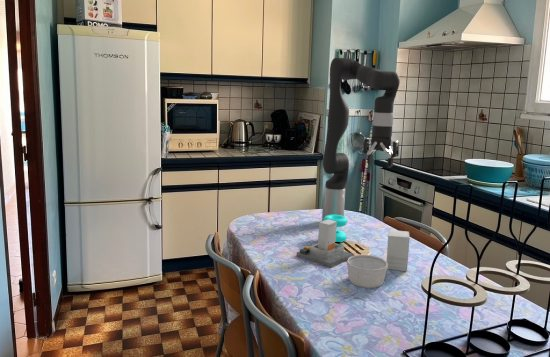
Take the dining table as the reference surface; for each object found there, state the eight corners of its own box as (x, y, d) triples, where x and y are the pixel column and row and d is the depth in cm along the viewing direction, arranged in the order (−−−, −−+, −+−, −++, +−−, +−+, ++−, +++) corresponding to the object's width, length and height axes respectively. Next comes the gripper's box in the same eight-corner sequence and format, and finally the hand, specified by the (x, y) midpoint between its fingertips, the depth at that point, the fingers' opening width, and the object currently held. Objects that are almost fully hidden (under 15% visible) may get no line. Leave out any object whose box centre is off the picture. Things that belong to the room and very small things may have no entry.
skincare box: (326, 255, 172) (328, 224, 170) (317, 252, 175) (318, 222, 173) (335, 251, 177) (337, 221, 175) (326, 248, 180) (327, 219, 177)
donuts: (319, 214, 196) (340, 212, 199) (318, 237, 198) (338, 235, 201) (330, 221, 187) (352, 219, 190) (329, 244, 189) (350, 242, 192)
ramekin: (386, 292, 147) (388, 271, 145) (344, 287, 149) (346, 267, 148) (385, 275, 159) (387, 256, 158) (346, 271, 162) (348, 253, 161)
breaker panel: (296, 255, 175) (296, 245, 175) (318, 247, 186) (319, 237, 185) (330, 267, 165) (331, 257, 164) (352, 257, 175) (353, 247, 174)
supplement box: (407, 264, 170) (409, 231, 167) (407, 271, 163) (409, 237, 160) (386, 261, 172) (388, 229, 169) (385, 269, 165) (388, 235, 162)
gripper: (361, 123, 180) (358, 164, 183) (394, 126, 171) (391, 169, 174) (371, 122, 186) (368, 162, 189) (404, 125, 176) (400, 167, 179)
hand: (379, 166), depth 181 cm, fingers open, 8 cm apart
